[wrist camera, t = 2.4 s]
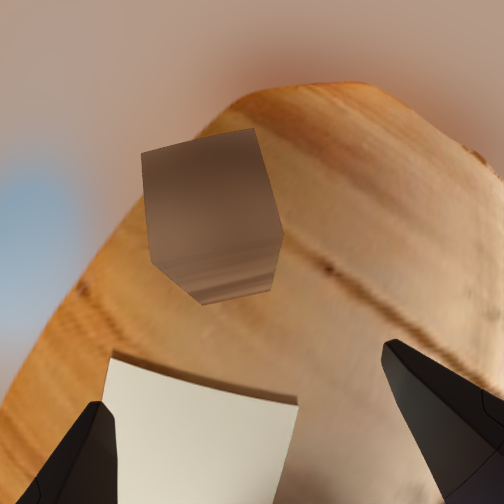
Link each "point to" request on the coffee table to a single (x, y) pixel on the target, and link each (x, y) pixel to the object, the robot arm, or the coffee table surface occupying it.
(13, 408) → the coffee table surface
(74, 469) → the robot arm
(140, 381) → the board
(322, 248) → the coffee table surface
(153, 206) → the walnut block
